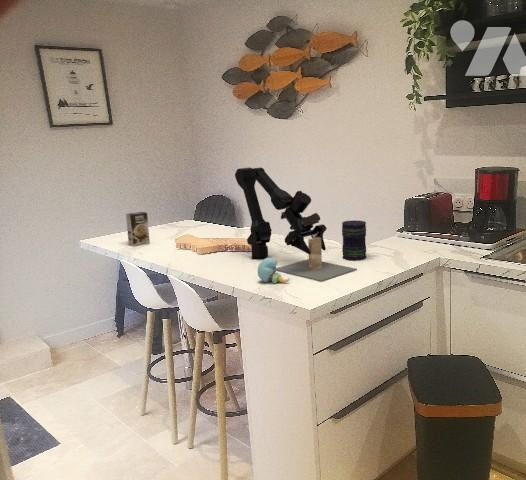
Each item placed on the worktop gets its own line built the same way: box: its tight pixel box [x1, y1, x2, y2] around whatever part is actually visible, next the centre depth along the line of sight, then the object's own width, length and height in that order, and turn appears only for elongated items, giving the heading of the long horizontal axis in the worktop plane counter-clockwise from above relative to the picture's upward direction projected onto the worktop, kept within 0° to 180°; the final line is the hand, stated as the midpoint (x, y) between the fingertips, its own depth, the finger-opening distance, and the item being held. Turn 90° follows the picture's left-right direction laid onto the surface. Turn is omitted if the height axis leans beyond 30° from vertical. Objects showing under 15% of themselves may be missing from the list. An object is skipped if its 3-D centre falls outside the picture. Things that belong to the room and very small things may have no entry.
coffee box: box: [125, 211, 151, 247], centre depth 259 cm, size 9×6×16 cm
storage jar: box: [341, 219, 367, 262], centre depth 210 cm, size 10×10×15 cm
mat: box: [276, 258, 358, 283], centre depth 197 cm, size 25×20×1 cm
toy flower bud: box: [257, 257, 290, 284], centre depth 183 cm, size 7×9×12 cm
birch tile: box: [307, 237, 323, 271], centre depth 195 cm, size 2×5×12 cm, turn 131°
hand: (317, 251), depth 194 cm, fingers open, 8 cm apart
